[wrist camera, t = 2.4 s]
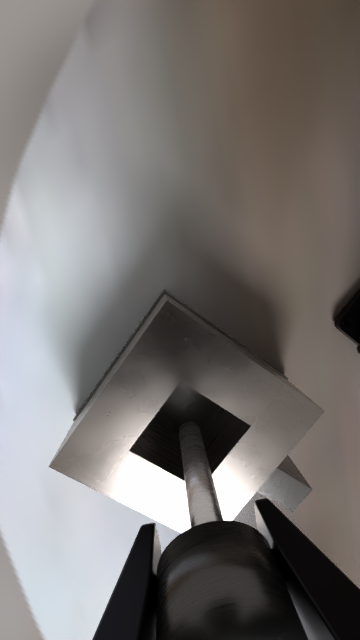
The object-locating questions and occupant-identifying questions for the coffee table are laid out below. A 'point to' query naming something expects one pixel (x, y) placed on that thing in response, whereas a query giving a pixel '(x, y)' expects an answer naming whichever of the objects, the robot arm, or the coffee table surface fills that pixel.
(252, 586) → the plunger
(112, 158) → the coffee table surface
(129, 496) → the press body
